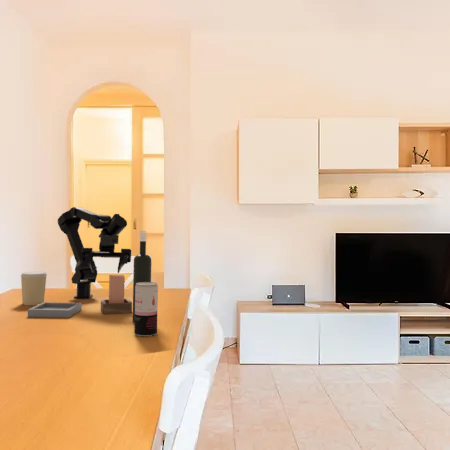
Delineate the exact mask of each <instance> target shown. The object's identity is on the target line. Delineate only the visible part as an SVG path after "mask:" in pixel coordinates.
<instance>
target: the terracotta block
mask: <svg viewBox="0 0 450 450" xmlns="http://www.w3.org/2000/svg"><path fill="white" fill-rule="evenodd" d="M125 280H126V279H125V275H124V274H109V278H108V299H109V304H110V303H124V299H125Z"/></svg>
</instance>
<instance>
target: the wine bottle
mask: <svg viewBox="0 0 450 450" xmlns="http://www.w3.org/2000/svg"><path fill="white" fill-rule="evenodd" d="M132 278H133V284H132V287H133V288H132V323H134V324H135V286H136V283H139V282H152V257H151V256H150V255H149V254H147V231H146V230H140V231H139V254H137V255H135V256H134V258H133V277H132Z"/></svg>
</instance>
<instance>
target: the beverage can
mask: <svg viewBox="0 0 450 450" xmlns="http://www.w3.org/2000/svg"><path fill="white" fill-rule="evenodd" d="M158 297H159V285H158V283H157V282H153V281H151V282H139V283H136V286H135V323H134V332H133V333H134V334H135V336H137V337H140V336H149V337H153V336H152V335H154V336H156V335H157V333H158V303H159V301H158V300H159V298H158Z"/></svg>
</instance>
